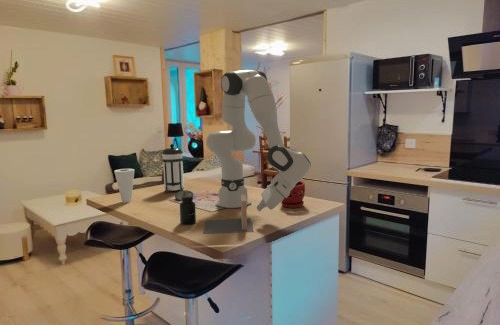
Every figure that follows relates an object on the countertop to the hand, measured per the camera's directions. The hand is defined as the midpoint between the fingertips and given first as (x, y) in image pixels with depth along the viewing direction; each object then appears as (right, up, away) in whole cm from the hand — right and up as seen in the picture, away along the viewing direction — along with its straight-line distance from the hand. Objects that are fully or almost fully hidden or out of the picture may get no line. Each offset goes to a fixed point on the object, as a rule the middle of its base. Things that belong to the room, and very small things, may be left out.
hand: (257, 209), depth 143 cm
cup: (-73, -3, +48) cm, 87 cm away
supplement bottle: (-31, -7, +8) cm, 32 cm away
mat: (-12, -7, +1) cm, 14 cm away
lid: (-41, -1, +52) cm, 66 cm away
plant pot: (+18, -3, +32) cm, 37 cm away
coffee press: (-51, +1, +72) cm, 88 cm away
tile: (-6, -7, +1) cm, 9 cm away
